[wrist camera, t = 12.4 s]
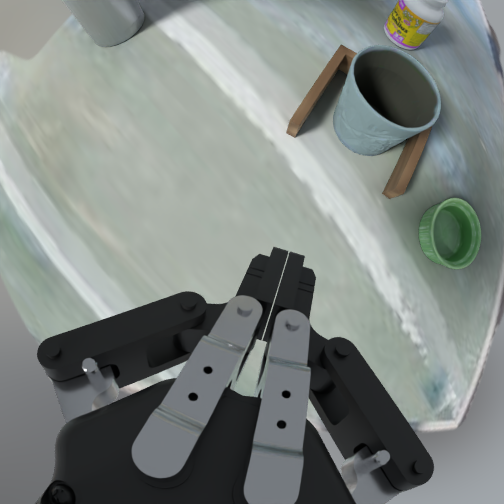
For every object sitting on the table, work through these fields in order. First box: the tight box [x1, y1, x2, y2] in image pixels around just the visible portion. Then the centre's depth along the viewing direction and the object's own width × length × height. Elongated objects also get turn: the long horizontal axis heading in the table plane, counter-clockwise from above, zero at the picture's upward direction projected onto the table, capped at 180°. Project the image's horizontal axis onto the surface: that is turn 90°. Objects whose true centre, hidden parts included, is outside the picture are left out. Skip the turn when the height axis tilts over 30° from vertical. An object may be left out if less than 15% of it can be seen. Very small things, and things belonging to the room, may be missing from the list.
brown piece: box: [286, 45, 433, 199], centre depth 33 cm, size 15×14×4 cm
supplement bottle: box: [384, 0, 448, 50], centre depth 29 cm, size 7×7×13 cm
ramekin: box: [419, 198, 481, 269], centre depth 34 cm, size 9×9×4 cm
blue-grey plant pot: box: [333, 45, 441, 156], centre depth 29 cm, size 10×10×12 cm
